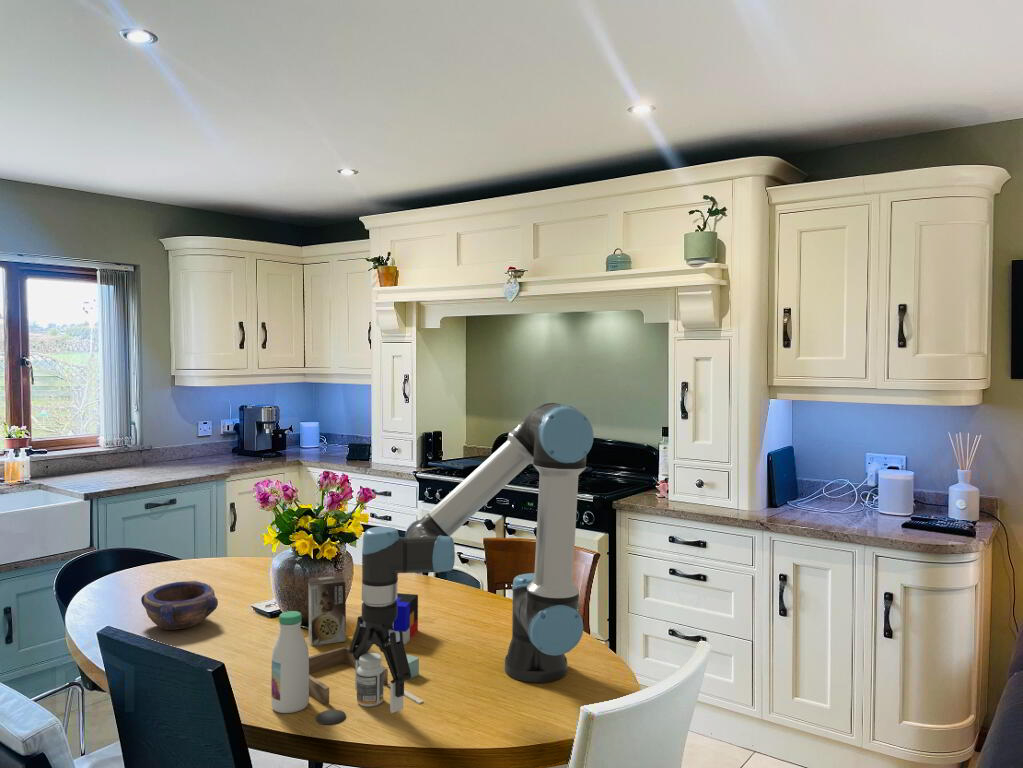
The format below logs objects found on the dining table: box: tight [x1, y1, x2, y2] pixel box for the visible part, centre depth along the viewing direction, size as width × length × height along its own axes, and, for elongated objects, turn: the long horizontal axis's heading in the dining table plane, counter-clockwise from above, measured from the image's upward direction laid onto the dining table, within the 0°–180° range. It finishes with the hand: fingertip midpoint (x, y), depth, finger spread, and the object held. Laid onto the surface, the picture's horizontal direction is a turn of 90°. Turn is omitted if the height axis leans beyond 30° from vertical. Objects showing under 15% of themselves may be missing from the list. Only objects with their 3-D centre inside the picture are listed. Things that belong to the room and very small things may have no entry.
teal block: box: [405, 653, 420, 679], centre depth 181 cm, size 4×4×4 cm
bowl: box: [140, 580, 219, 631], centre depth 211 cm, size 18×18×10 cm
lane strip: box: [387, 683, 424, 705], centre depth 171 cm, size 12×1×1 cm, turn 43°
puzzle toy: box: [389, 592, 419, 645], centre depth 205 cm, size 10×10×10 cm
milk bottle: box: [270, 610, 310, 714], centre depth 164 cm, size 8×8×20 cm
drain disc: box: [315, 709, 347, 725], centre depth 159 cm, size 6×6×1 cm
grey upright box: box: [307, 574, 347, 647], centre depth 202 cm, size 9×6×16 cm
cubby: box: [309, 645, 389, 706], centre depth 177 cm, size 18×16×4 cm
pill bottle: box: [356, 652, 384, 708], centre depth 166 cm, size 6×6×10 cm
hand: (378, 699), depth 164 cm, fingers open, 13 cm apart
